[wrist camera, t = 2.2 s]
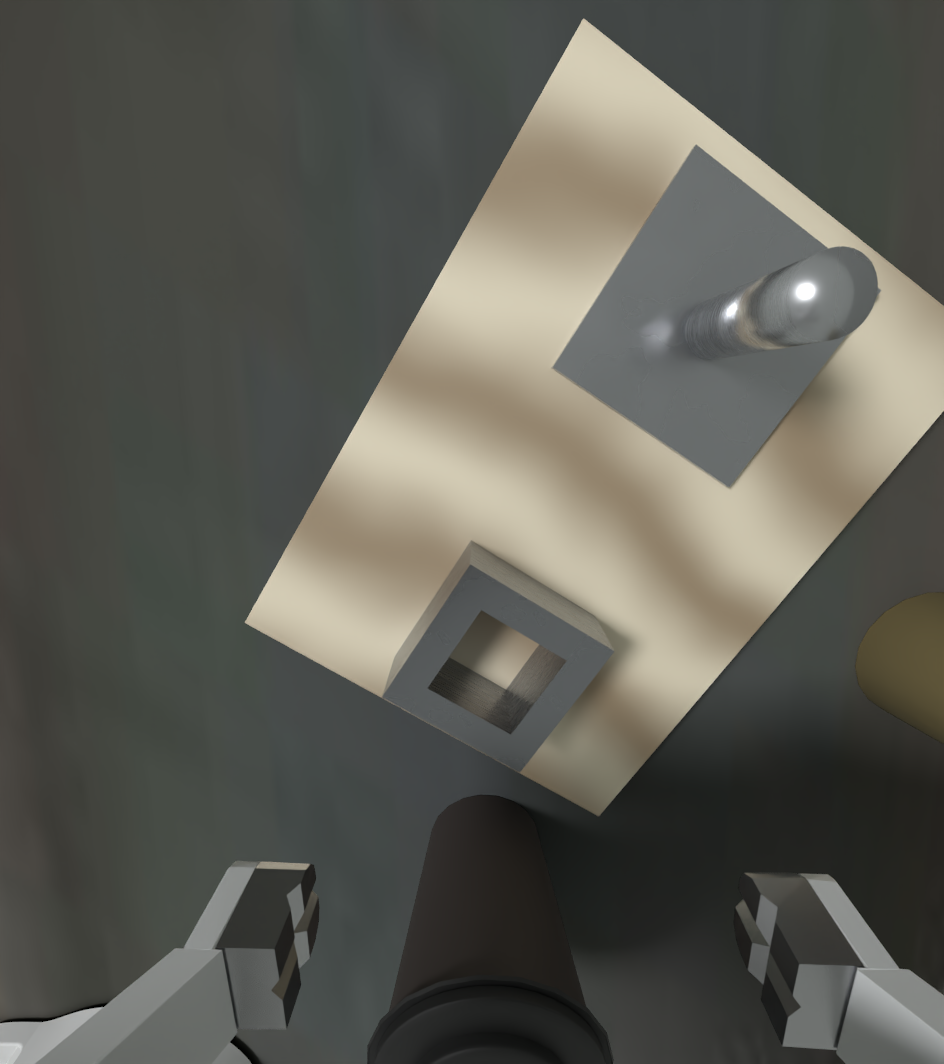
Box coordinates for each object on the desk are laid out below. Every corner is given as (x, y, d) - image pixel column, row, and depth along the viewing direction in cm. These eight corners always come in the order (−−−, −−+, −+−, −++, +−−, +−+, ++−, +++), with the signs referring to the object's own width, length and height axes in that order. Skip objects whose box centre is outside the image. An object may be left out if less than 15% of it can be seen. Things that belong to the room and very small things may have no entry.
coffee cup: (375, 803, 24) (310, 1066, 15) (531, 747, 24) (570, 989, 14) (442, 921, 26) (424, 1224, 17) (589, 874, 26) (658, 1164, 16)
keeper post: (724, 485, 19) (842, 526, 13) (551, 368, 18) (590, 351, 12) (872, 292, 17) (1091, 233, 11) (690, 150, 16) (821, -2, 10)
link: (514, 723, 22) (519, 772, 19) (394, 656, 21) (381, 697, 18) (594, 615, 21) (614, 651, 18) (470, 540, 20) (470, 564, 17)
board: (592, 796, 24) (598, 816, 23) (257, 610, 22) (244, 622, 21) (964, 351, 19) (996, 348, 18) (575, 45, 17) (583, 18, 16)
